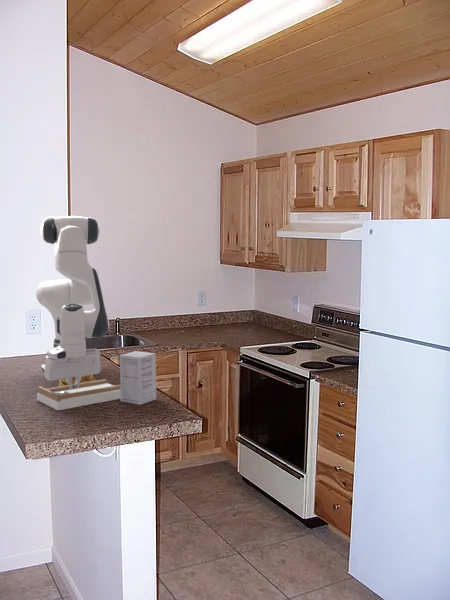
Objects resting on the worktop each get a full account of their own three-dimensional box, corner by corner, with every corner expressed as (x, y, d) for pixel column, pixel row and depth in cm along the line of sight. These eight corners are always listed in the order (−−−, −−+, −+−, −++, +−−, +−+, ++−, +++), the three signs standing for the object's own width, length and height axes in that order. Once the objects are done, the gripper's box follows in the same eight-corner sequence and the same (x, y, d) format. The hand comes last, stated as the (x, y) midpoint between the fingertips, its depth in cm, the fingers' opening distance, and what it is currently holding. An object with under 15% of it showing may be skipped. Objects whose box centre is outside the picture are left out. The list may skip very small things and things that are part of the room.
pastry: (51, 388, 242) (51, 368, 241) (84, 381, 253) (84, 362, 252) (71, 394, 233) (71, 373, 232) (104, 387, 244) (104, 367, 243)
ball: (67, 394, 225) (60, 403, 223) (60, 387, 223) (53, 396, 221) (73, 396, 222) (66, 406, 220) (66, 390, 220) (58, 399, 218)
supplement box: (157, 399, 227) (157, 353, 225) (141, 405, 219) (140, 357, 217) (136, 395, 232) (135, 350, 230) (119, 401, 224) (119, 354, 222)
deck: (37, 400, 224) (37, 386, 223) (102, 389, 241) (102, 376, 240) (57, 410, 212) (57, 395, 211) (124, 397, 228) (124, 384, 228)
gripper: (95, 346, 231) (95, 383, 233) (42, 352, 218) (42, 391, 220) (103, 348, 227) (104, 386, 228) (49, 355, 213) (50, 395, 215)
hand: (73, 389), depth 224 cm, fingers closed
